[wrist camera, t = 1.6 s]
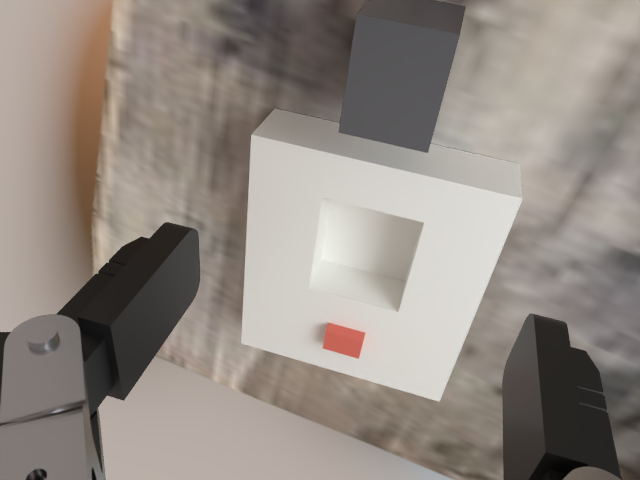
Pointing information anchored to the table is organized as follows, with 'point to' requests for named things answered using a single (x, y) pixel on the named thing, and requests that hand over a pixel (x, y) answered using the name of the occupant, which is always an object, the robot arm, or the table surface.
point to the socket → (369, 250)
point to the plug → (399, 70)
